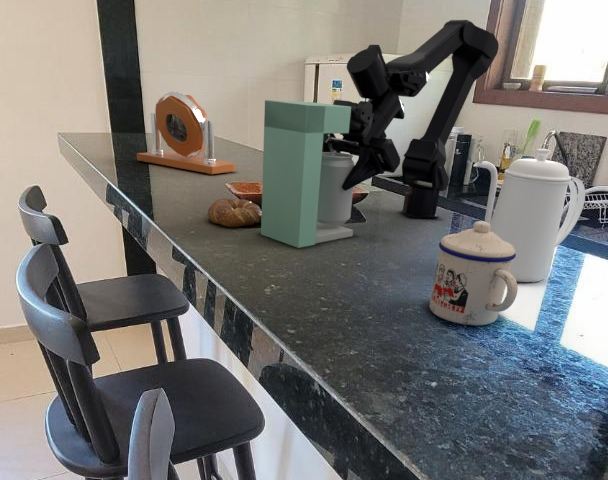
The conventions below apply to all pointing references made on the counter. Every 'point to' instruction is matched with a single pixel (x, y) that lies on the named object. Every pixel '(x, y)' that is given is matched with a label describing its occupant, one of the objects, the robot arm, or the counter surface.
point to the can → (334, 188)
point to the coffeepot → (533, 211)
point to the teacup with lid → (473, 277)
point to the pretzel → (234, 212)
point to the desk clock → (183, 136)
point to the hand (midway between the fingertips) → (327, 185)
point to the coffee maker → (297, 170)
